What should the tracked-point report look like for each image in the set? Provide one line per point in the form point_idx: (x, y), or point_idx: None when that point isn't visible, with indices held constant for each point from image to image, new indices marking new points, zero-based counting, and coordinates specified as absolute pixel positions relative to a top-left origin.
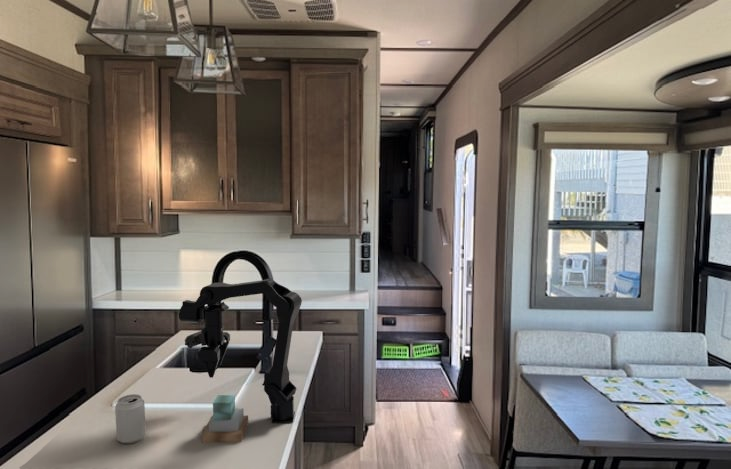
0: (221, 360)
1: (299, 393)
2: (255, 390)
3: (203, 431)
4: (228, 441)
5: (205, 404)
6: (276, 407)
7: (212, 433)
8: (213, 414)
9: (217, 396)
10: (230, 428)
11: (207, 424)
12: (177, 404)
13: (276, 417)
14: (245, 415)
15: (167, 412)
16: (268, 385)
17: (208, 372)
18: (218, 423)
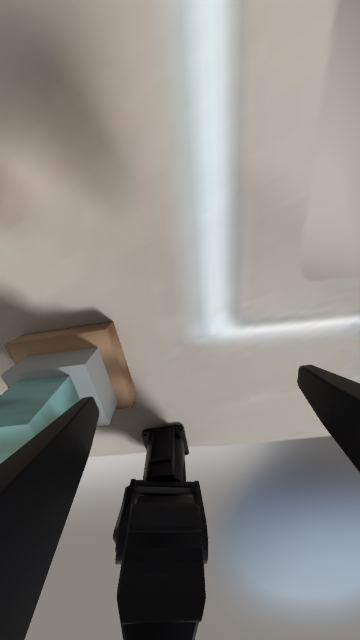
0: (333, 436)
1: (275, 440)
2: (305, 358)
3: (20, 343)
4: None
5: (221, 255)
6: (145, 468)
7: None
8: (3, 394)
9: (17, 426)
10: None
11: (57, 338)
12: (219, 139)
13: (149, 442)
14: (130, 402)
15: (151, 130)
16: (116, 552)
17: (38, 439)
18: None
